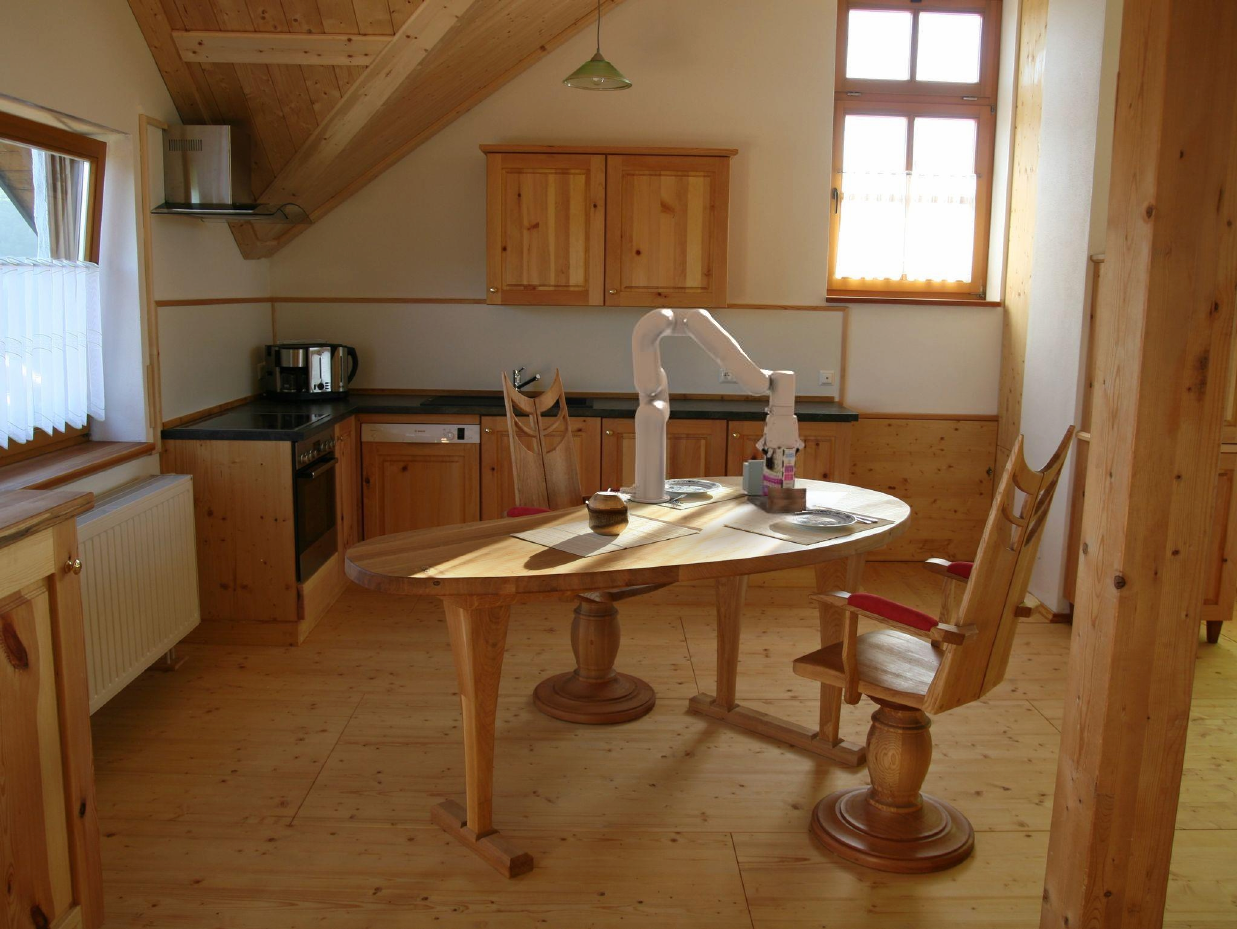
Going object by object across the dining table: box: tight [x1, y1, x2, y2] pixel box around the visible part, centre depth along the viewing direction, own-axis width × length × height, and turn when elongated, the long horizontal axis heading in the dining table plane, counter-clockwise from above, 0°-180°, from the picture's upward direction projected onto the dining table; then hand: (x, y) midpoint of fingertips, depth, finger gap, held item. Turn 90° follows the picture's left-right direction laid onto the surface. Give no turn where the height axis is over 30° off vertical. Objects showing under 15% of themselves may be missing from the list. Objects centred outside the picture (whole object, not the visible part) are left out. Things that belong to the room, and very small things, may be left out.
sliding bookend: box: [742, 459, 764, 496], centre depth 349 cm, size 12×9×11 cm
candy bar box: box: [763, 445, 797, 497], centre depth 332 cm, size 11×5×16 cm, turn 25°
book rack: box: [746, 487, 814, 515], centre depth 333 cm, size 14×22×7 cm, turn 11°
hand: (779, 468), depth 332 cm, fingers closed on candy bar box, 5 cm apart
